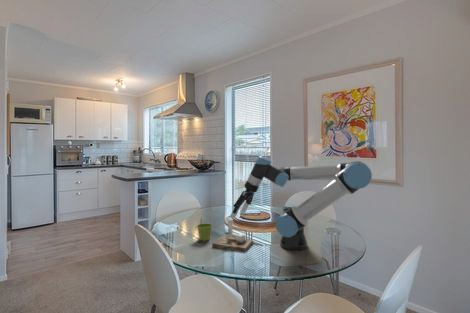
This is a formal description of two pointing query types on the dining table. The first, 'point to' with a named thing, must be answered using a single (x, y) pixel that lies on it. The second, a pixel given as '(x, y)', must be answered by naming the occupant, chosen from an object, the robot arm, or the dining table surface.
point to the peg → (239, 237)
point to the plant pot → (204, 231)
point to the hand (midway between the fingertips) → (237, 215)
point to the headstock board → (232, 244)
